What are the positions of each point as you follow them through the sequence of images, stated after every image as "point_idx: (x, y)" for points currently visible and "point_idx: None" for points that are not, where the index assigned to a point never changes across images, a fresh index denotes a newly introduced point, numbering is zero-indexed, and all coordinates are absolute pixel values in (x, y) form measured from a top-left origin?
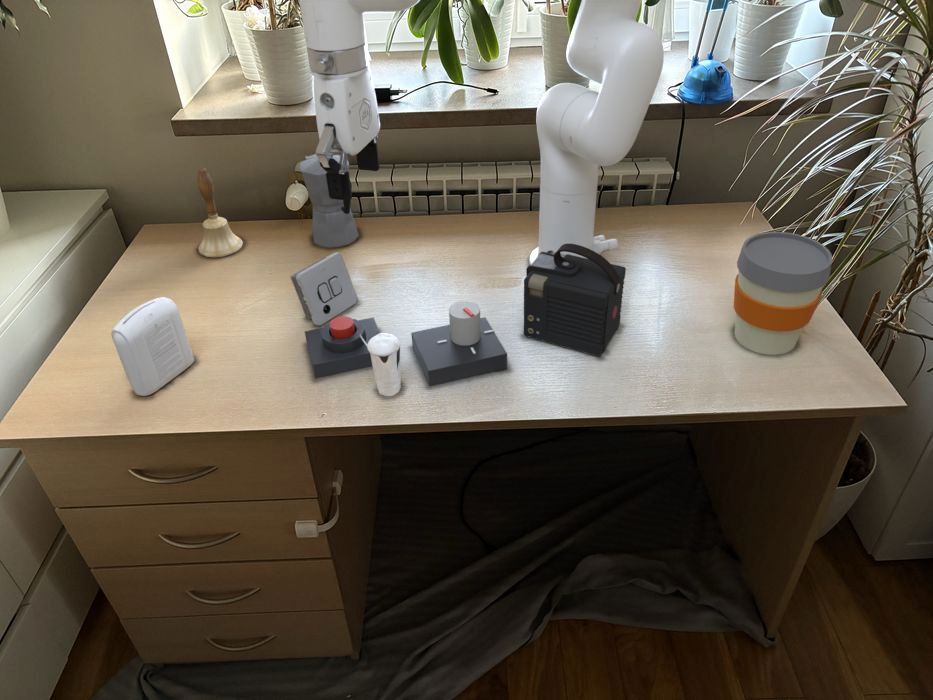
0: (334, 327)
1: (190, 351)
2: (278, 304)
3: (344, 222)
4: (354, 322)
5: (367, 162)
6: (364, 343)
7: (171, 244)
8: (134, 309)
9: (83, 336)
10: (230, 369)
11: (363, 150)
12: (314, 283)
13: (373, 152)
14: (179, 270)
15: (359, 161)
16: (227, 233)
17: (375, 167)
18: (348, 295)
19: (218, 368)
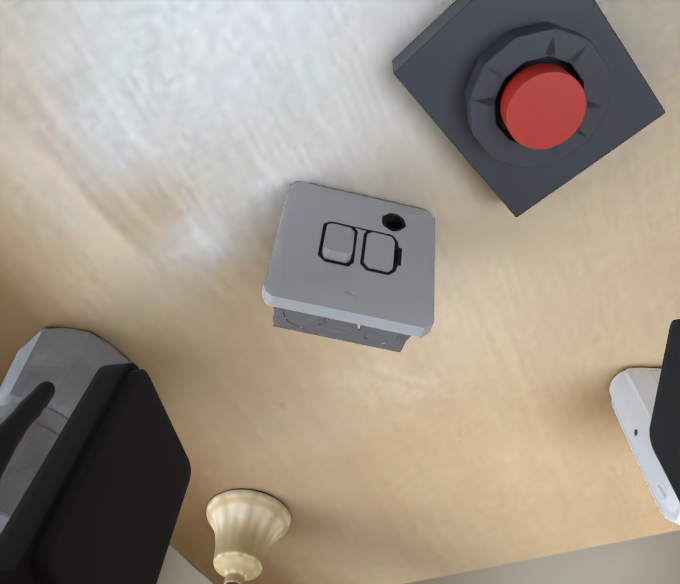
0: (576, 119)
1: (639, 387)
2: None
3: (56, 375)
4: (489, 92)
5: (148, 466)
6: (533, 22)
7: (284, 571)
8: None
9: (580, 537)
10: (634, 297)
11: (116, 577)
12: (396, 285)
13: (80, 507)
14: (349, 527)
15: (170, 511)
16: (237, 532)
17: (137, 390)
18: (313, 204)
19: (634, 319)
